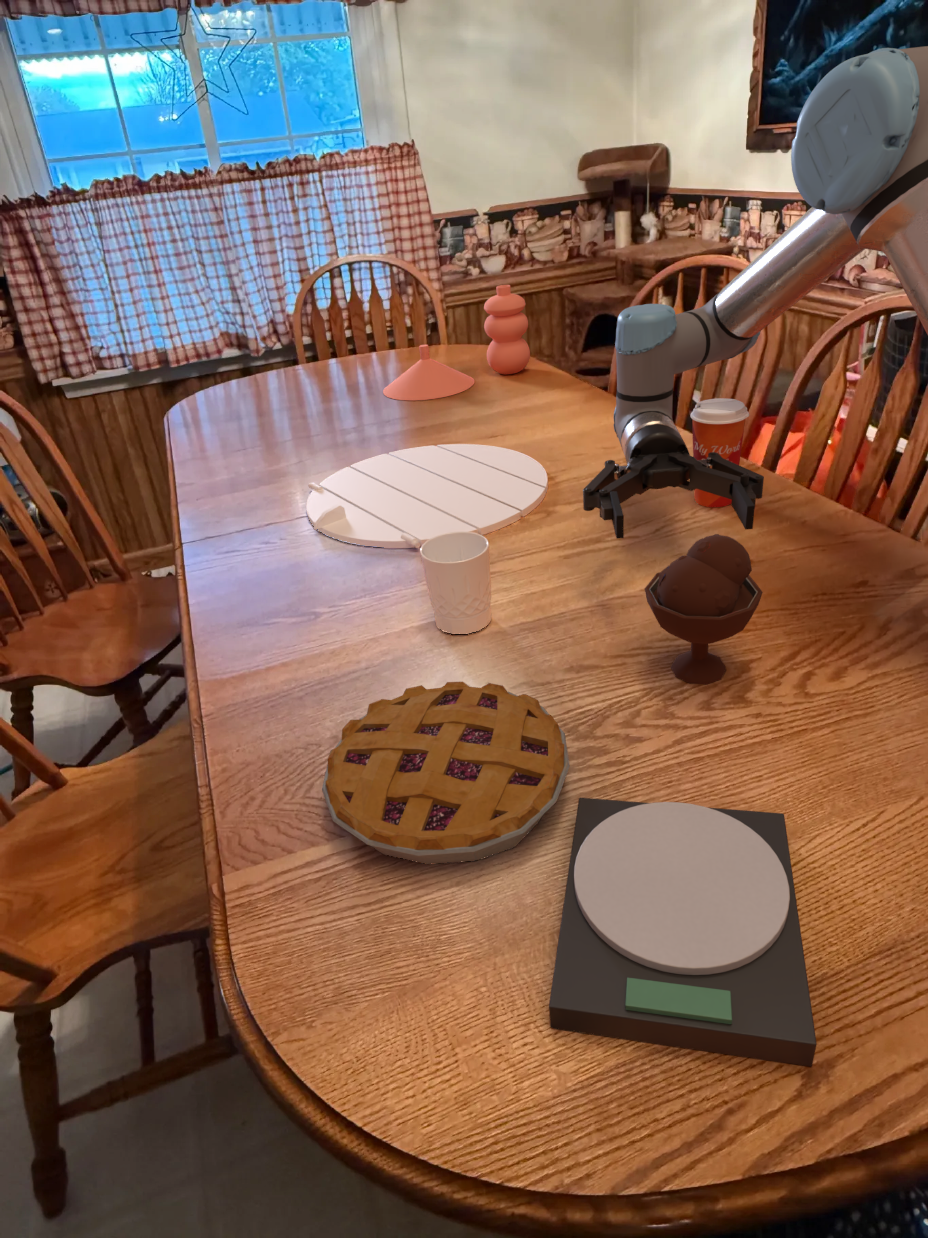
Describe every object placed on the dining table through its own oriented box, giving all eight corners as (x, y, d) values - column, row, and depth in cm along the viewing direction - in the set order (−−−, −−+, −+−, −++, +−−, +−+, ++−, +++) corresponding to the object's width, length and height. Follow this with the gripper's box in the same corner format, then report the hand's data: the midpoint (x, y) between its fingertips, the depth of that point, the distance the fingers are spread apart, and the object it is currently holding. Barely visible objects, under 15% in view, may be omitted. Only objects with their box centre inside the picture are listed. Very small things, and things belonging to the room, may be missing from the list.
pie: (294, 872, 67) (281, 829, 65) (367, 708, 86) (359, 669, 83) (560, 892, 63) (557, 846, 60) (578, 714, 81) (577, 673, 78)
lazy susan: (382, 578, 110) (378, 555, 108) (263, 501, 138) (258, 481, 136) (599, 486, 128) (599, 466, 126) (454, 435, 156) (452, 417, 155)
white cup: (482, 642, 94) (474, 565, 89) (420, 634, 97) (408, 559, 92) (505, 607, 100) (498, 533, 95) (446, 601, 103) (436, 529, 98)
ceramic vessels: (392, 406, 177) (378, 315, 167) (376, 382, 195) (362, 299, 185) (545, 378, 183) (540, 289, 173) (516, 358, 201) (510, 276, 191)
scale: (781, 835, 65) (785, 805, 64) (812, 1067, 50) (818, 1037, 48) (579, 817, 69) (578, 789, 68) (550, 1029, 54) (547, 999, 52)
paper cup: (685, 509, 118) (688, 414, 111) (689, 488, 124) (692, 397, 117) (742, 511, 116) (749, 414, 108) (743, 489, 122) (750, 396, 114)
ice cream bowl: (685, 628, 92) (690, 505, 84) (775, 667, 84) (790, 535, 76) (623, 670, 86) (622, 543, 79) (713, 715, 79) (722, 578, 71)
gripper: (751, 471, 106) (801, 545, 88) (558, 486, 108) (568, 561, 90) (756, 414, 102) (809, 480, 84) (555, 431, 104) (565, 498, 86)
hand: (684, 522), depth 87 cm, fingers open, 13 cm apart
